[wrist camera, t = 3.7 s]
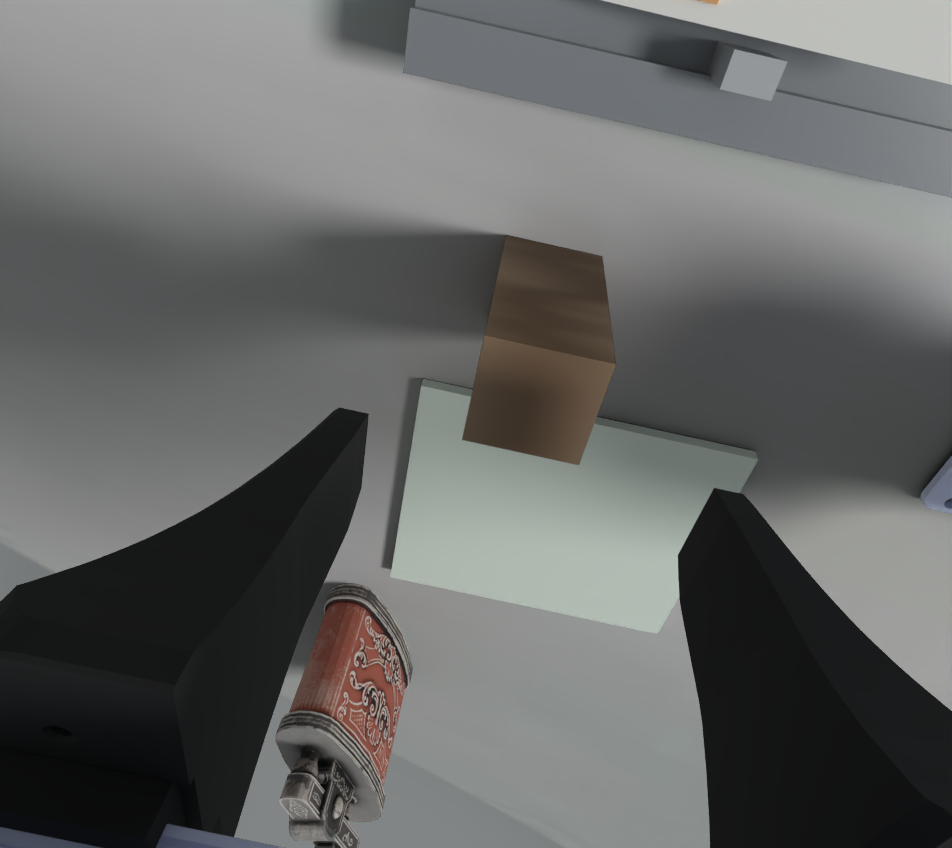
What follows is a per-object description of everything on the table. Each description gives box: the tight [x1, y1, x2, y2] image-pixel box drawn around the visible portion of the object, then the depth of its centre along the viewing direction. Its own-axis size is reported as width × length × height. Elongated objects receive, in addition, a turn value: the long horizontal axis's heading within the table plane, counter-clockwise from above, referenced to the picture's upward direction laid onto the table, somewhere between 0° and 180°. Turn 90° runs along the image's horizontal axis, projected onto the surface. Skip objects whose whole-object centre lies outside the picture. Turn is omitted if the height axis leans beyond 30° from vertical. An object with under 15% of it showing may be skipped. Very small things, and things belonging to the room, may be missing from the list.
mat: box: [390, 379, 759, 634], centre depth 28 cm, size 13×11×1 cm
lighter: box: [275, 584, 413, 848], centre depth 30 cm, size 8×3×10 cm, turn 14°
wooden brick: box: [462, 235, 616, 465], centre depth 19 cm, size 3×3×7 cm
